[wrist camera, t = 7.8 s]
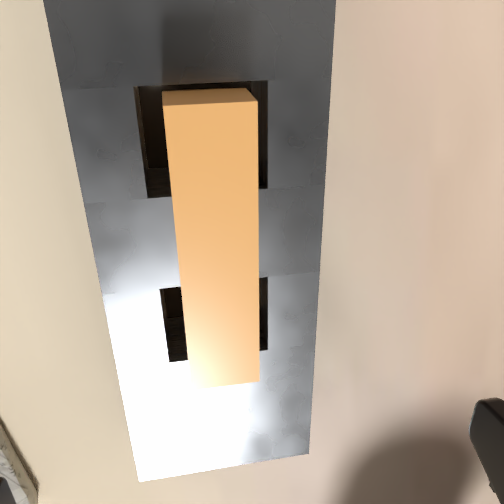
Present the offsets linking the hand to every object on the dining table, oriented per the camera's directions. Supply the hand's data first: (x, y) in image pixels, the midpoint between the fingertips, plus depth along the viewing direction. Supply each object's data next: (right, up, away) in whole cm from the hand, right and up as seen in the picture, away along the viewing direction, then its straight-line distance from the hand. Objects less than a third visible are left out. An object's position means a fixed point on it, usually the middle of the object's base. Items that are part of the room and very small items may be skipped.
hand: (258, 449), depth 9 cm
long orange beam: (-2, +6, +10) cm, 12 cm away
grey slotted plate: (-2, +6, +10) cm, 12 cm away
